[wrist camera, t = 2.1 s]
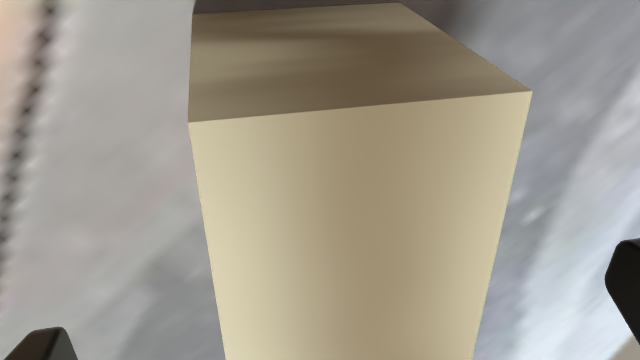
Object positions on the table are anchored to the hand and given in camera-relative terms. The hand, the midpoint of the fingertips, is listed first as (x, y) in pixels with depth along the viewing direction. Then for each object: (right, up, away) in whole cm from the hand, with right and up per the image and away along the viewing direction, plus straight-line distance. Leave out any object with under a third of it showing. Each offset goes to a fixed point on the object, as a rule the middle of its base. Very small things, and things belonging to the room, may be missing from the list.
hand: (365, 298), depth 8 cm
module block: (-1, +3, +6) cm, 7 cm away
